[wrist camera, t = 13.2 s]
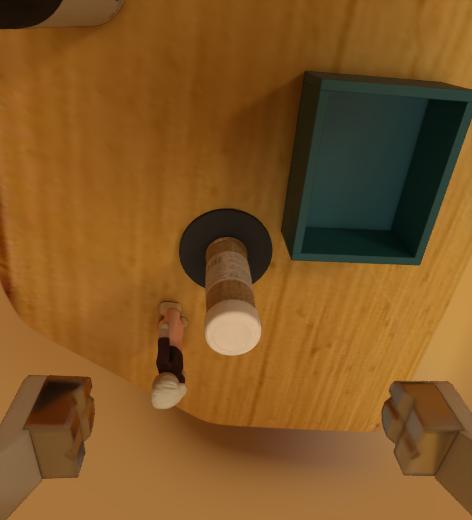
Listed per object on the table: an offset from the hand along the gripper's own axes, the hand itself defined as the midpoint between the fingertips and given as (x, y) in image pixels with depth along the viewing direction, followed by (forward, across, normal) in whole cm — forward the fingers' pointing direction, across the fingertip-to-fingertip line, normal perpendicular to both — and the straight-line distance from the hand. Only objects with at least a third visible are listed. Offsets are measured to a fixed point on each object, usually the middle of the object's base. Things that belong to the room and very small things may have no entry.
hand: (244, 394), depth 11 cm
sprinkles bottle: (+30, -2, +13) cm, 33 cm away
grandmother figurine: (+31, +4, +22) cm, 38 cm away
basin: (+31, -13, +2) cm, 34 cm away
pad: (+31, -1, +13) cm, 33 cm away
